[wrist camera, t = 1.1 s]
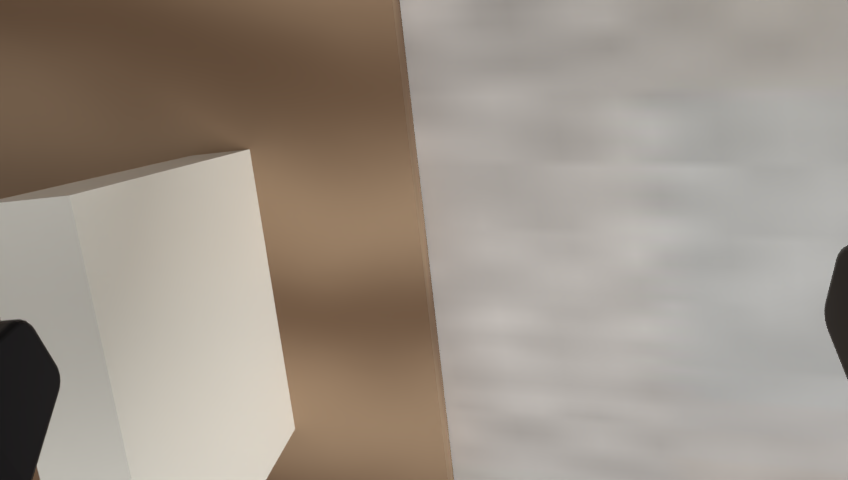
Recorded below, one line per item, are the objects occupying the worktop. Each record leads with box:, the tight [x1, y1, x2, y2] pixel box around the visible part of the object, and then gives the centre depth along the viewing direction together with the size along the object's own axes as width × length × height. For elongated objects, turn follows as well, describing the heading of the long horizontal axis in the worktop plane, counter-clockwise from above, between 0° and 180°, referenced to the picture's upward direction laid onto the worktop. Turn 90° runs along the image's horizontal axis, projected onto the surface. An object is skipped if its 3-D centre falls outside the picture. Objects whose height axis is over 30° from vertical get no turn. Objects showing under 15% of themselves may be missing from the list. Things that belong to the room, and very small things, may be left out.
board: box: [0, 0, 454, 480], centre depth 20 cm, size 20×18×2 cm
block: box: [0, 149, 295, 480], centre depth 15 cm, size 8×2×8 cm, turn 6°
